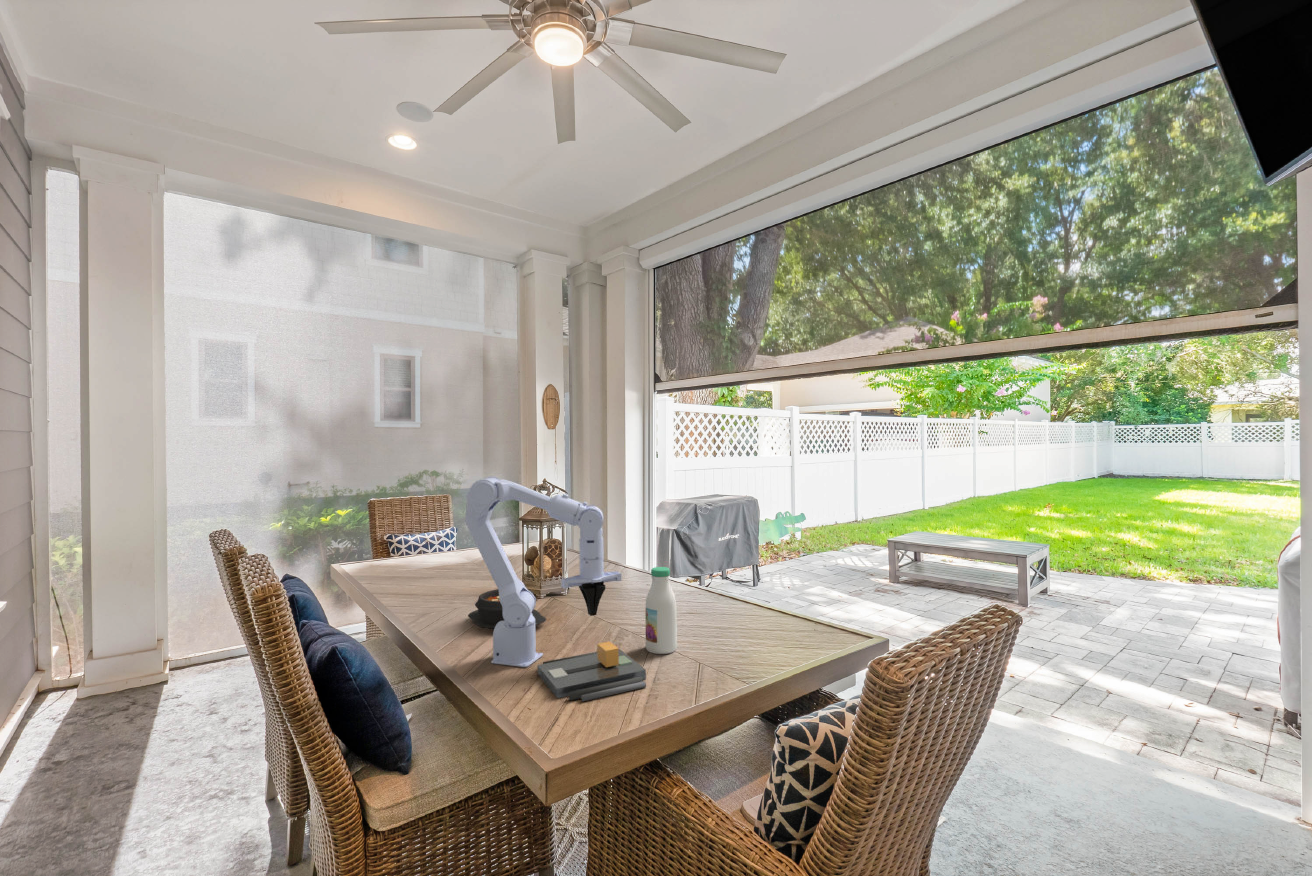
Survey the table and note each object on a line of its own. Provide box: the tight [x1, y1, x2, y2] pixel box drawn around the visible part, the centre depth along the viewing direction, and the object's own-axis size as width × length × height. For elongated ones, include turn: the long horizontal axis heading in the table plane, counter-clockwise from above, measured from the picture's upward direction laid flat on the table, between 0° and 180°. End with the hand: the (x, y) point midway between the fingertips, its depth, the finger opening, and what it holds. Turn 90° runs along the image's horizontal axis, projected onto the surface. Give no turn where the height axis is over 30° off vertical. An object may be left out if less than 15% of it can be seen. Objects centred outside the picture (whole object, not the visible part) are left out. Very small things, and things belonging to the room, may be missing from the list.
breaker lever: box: [596, 641, 619, 667], centre depth 133 cm, size 3×5×4 cm, turn 27°
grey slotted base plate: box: [542, 651, 647, 703], centre depth 130 cm, size 16×21×2 cm
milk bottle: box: [644, 566, 678, 655], centre depth 147 cm, size 8×8×20 cm
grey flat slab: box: [537, 648, 647, 700], centre depth 131 cm, size 20×14×2 cm
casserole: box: [467, 588, 547, 630], centre depth 168 cm, size 25×19×8 cm
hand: (592, 614), depth 142 cm, fingers closed
